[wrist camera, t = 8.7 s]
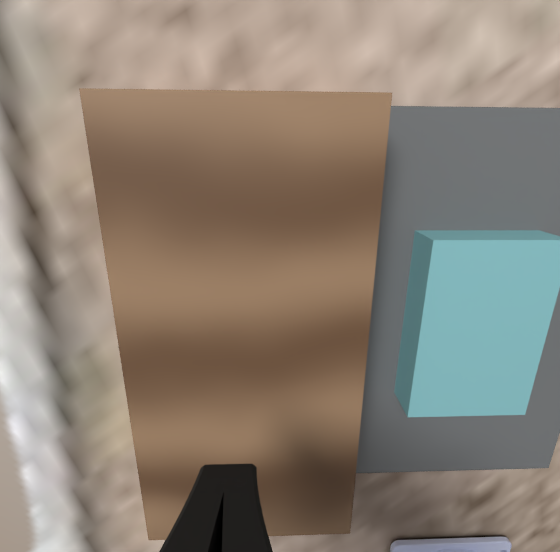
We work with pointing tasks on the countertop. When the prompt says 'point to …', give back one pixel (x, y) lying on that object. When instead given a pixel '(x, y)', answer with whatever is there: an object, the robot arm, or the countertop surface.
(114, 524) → the countertop surface
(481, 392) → the thick teal block
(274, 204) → the brown flat block
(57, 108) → the countertop surface
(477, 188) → the mat
